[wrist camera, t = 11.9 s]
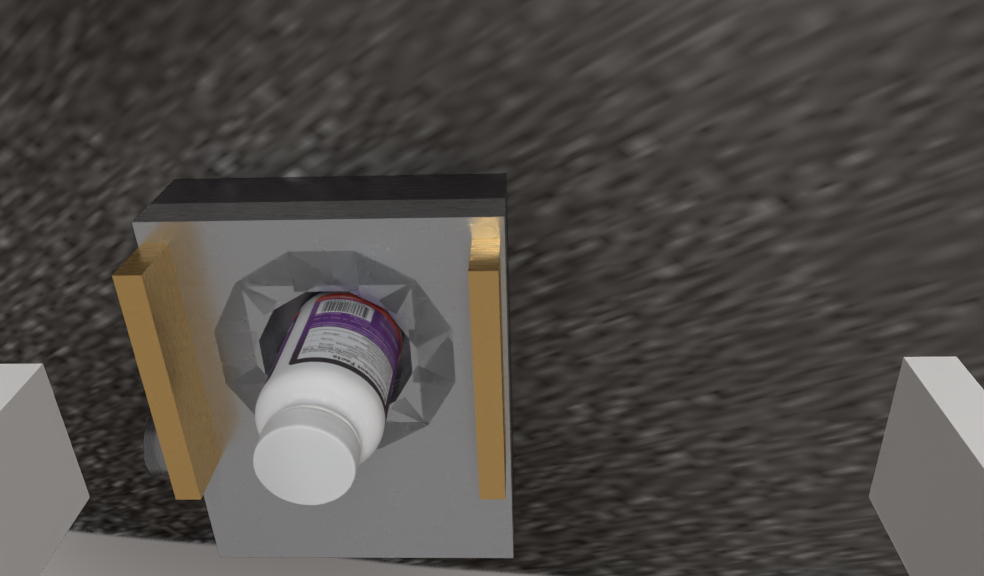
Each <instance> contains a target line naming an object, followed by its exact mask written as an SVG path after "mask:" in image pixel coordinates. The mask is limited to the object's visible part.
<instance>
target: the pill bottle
mask: <svg viewBox="0 0 984 576" xmlns="http://www.w3.org/2000/svg"><path fill="white" fill-rule="evenodd" d="M402 343H403V339H402V331H401V328H400V327H399V325H398V324H397V323H396V322H395V320H394V319H393V318H392V316H391V315H390V314H389V312H388V311H387V310H386V309H385V308H382V307H380V306H378V305H376V304H374V303H372V302H370V301H367V300H365V299H363V298H361V297H359V296H357V295H355V294H352V293H350V292H348V291H325V292H322V293H319V294H317V295H315V296H314V297H312V298H311V299H309V300H308V301H307V302H306V303H305V304H304V305H303V306H302V307H301V308H300V310H299V311H298V313H297V314H296V316H295V318H294V320H293V322H292V324H291V326H290V328H289V330H288V333H287V335H286V337H285V339H284V342H283V344H282V346H281V348H280V350H279V353H278V355H277V357H276V359H275V361H274V363H273V366H272V368H271V370H270V372H269V374H268V376H267V379H266V381H265V383H264V385H263V387H262V389H261V392H260V394H259V397H258V400H257V403H256V408H255V422H256V427H257V431H258V433H259V436H260V437H259V440H258V442H257V445H256V448H255V451H254V456H253V465H254V470H255V473H256V475H257V477H258V479H259V480H260V482H261V483H262V484H263V485H264V486H265V487H266V489H268V490H269V491H270V492H271V493H273V494H274V495H276V496H277V497H279V498H281V499H284V500H286V501H289V502H292V503H296V504H301V505H319V504H325V503H328V502H331V501H334V500H336V499H338V498H339V497H341V496H342V495H344V494H345V493H346V492H347V491H348V489H349V488H350V487H351V485H352V484H353V481H354V479H355V476H356V472H357V469H358V466H359V465H360V464H361V463H363V462H364V461H365V460H366V459H368V458H369V457H370V456H371V455H372V454H373V453H374V451H375V450H376V448H377V447H378V445H379V443H380V441H381V439H382V436H383V433H384V429H385V424H386V419H387V414H388V409H389V405H390V400H391V395H392V391H393V387H394V382H395V378H396V374H397V369H398V365H399V361H400V356H401V350H402Z"/></svg>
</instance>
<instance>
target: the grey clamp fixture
mask: <svg viewBox="0 0 984 576" xmlns="http://www.w3.org/2000/svg"><path fill="white" fill-rule="evenodd" d="M132 225H133V228H134V232H135V236H136V240H137V244H138V248H137V249H136V250H135V251H134V252H133V254H132V255H131V256H130V257H129V258H128V259H127V260H126V261H125V262H124V263H123V264H122V265H121V267H120V268H119V269H118V270H117V271H116V272H115V273H114V274H113V275H112V277H113V281H114V284H115V288H116V291H117V295H118V298H119V302H120V305H121V309H122V312H123V316H124V319H125V323H126V326H127V330H128V333H129V337H130V340H131V344H132V347H133V351H134V354H135V358H136V361H137V365H138V368H139V372H140V375H141V379H142V382H143V386H144V389H145V393H146V396H147V400H148V403H149V407H150V410H151V416H150V418H149V420H148V423H147V426H146V429H145V435H144V446H143V448H144V459H145V463H146V466H147V468H148V470H149V472H150V473H151V474H152V475H155V476H169V477H170V480H171V484H172V487H173V491H174V494H175V498H176V499H201V498H202V496H203V494H204V498H205V502H206V506H207V510H208V513H209V517H210V521H211V525H212V529H213V532H214V536H215V540H216V544H217V548H218V551H219V555H220V557H325V558H513V542H514V466H513V424H512V383H511V342H510V300H509V259H508V218H507V176H506V174H457V175H400V176H343V177H286V178H228V179H175V180H174V181H173V182H172V183H171V184H170V185H169V186H168V187H167V188H166V189H165V190H164V191H163V192H162V193H161V194H160V195H159V196H158V197H157V198H156V199H155V200H154V201H153V202H152V203H151V204H150V205H149V206H148V207H147V208H146V209H145V210H144V211H143V212H142V213H141V214H140V215H139V216H138V217H137V218H136V219H135V220H134V221H133V222H132ZM325 291H348V292H350V293H352V294H355V295H357V296H359V297H361V298H363V299H365V300H367V301H370V302H372V303H374V304H376V305H378V306H380V307H382V308H385V309H386V310H387V311H388V312H389V314H390V315H391V316H392V318H393V319H394V320H395V322H396V323H397V324H398V325H399V327H400V328H401V331H402V339H403V343H402V350H401V356H400V361H399V365H398V369H397V374H396V378H395V382H394V387H393V391H392V395H391V400H390V405H389V409H388V414H387V419H386V424H385V429H384V433H383V436H382V439H381V441H380V443H379V445H378V447H377V448H376V450H375V451H374V453H373V454H372V455H371V456H370V457H369V458H368V459H366V460H365V461H364V462H363V463H361V464H360V465H359V466H358V469H357V472H356V476H355V479H354V481H353V484H352V485H351V487H350V488H349V489H348V491H347V492H346V493H345V494H344V495H342V496H341V497H339V498H338V499H336V500H334V501H331V502H328V503H325V504H319V505H301V504H296V503H292V502H289V501H286V500H284V499H281V498H279V497H277V496H276V495H274V494H273V493H271V492H270V491H269V490H268V489H266V487H265V486H264V485H263V484H262V483H261V482H260V480H259V479H258V477H257V475H256V473H255V470H254V465H253V456H254V451H255V448H256V445H257V442H258V440H259V437H260V436H259V433H258V431H257V427H256V422H255V408H256V403H257V400H258V397H259V394H260V392H261V389H262V387H263V385H264V383H265V381H266V379H267V376H268V374H269V372H270V370H271V368H272V366H273V363H274V361H275V359H276V357H277V355H278V353H279V350H280V348H281V346H282V344H283V342H284V339H285V337H286V335H287V333H288V330H289V328H290V326H291V324H292V322H293V320H294V318H295V316H296V314H297V313H298V311H299V310H300V308H301V307H302V306H303V305H304V304H305V303H306V302H307V301H308V300H309V299H311V298H312V297H314V296H315V295H317V294H319V293H322V292H325Z"/></svg>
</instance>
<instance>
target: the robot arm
mask: <svg viewBox="0 0 984 576" xmlns="http://www.w3.org/2000/svg"><path fill="white" fill-rule="evenodd" d="M89 498H90V496H89V493H88V491H87V488H86V485H85V482H84V479H83V476H82V474H81V471H80V468H79V465H78V462H77V459H76V457H75V454H74V451H73V448H72V445H71V442H70V439H69V437H68V434H67V431H66V428H65V425H64V422H63V420H62V417H61V414H60V411H59V408H58V405H57V402H56V400H55V397H54V394H53V391H52V388H51V385H50V383H49V380H48V377H47V374H46V371H45V368H44V365H43V364H0V576H39V575H40V573H41V571H42V570H43V569H44V567H45V565H46V564H47V562H48V561H49V559H50V557H51V556H52V555H53V553H54V552H55V550H56V548H57V547H58V545H59V544H60V542H61V541H62V539H63V537H64V536H65V535H66V533H67V532H68V530H69V528H70V527H71V525H72V524H73V522H74V521H75V519H76V518H77V516H78V515H79V513H80V512H81V510H82V508H83V507H84V505H85V504H86V502H87V501H88V499H89ZM869 498H870V500H871V502H872V504H873V506H874V508H875V510H876V512H877V514H878V516H879V518H880V519H881V521H882V523H883V525H884V527H885V529H886V531H887V533H888V535H889V537H890V539H891V541H892V543H893V545H894V547H895V548H896V550H897V552H898V554H899V556H900V558H901V560H902V562H903V564H904V566H905V568H906V570H907V572H908V574H909V575H910V576H984V390H983V389H982V387H981V386H980V385H979V384H978V382H977V381H976V380H975V379H974V378H973V376H972V375H971V374H970V373H969V372H968V370H967V369H966V368H965V367H964V365H963V364H962V363H961V362H960V361H959V359H958V358H957V357H904V358H903V362H902V366H901V370H900V374H899V378H898V382H897V386H896V390H895V394H894V398H893V402H892V406H891V410H890V414H889V418H888V422H887V426H886V430H885V434H884V438H883V442H882V446H881V450H880V454H879V458H878V462H877V466H876V470H875V474H874V478H873V482H872V486H871V490H870V494H869Z"/></svg>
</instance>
